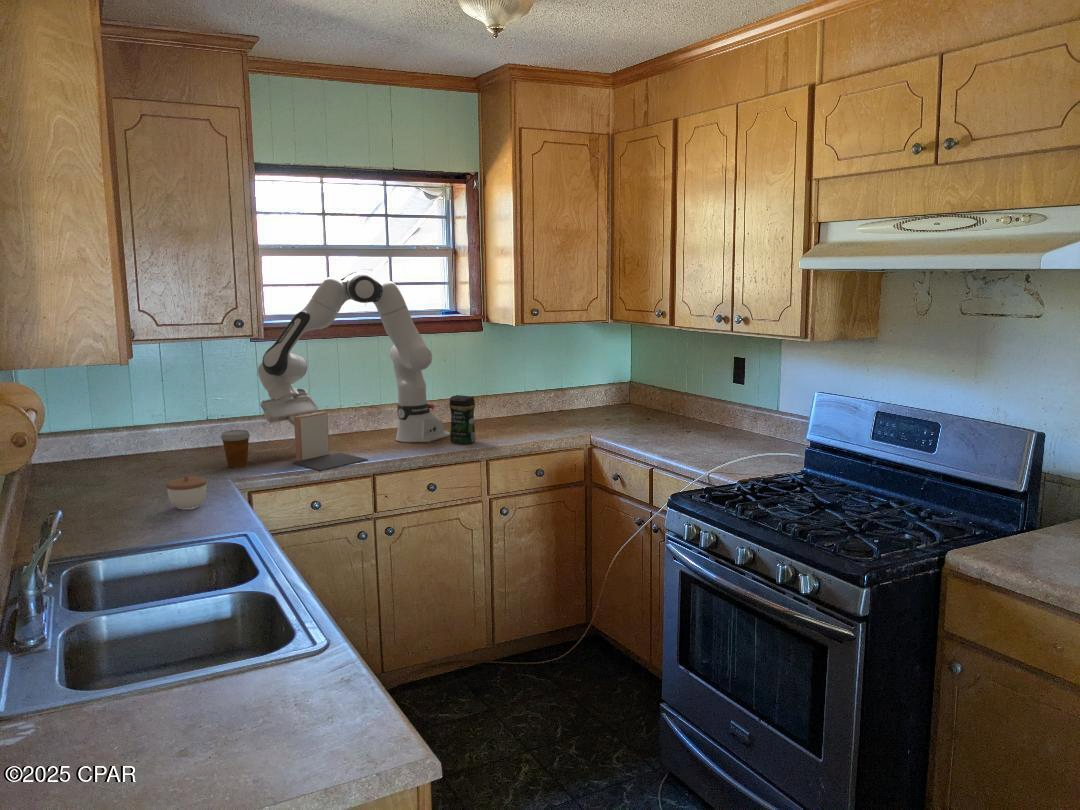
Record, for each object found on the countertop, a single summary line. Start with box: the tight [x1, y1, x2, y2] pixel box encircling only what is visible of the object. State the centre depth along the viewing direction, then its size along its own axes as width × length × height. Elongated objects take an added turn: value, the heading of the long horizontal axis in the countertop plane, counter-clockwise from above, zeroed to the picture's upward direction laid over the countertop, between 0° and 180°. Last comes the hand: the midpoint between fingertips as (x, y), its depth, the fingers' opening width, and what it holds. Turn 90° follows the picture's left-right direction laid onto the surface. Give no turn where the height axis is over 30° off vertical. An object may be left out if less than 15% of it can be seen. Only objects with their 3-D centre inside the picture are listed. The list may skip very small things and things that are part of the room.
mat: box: [291, 451, 369, 472], centre depth 295 cm, size 20×17×1 cm
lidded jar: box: [165, 475, 207, 509], centre depth 241 cm, size 11×11×9 cm
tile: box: [293, 411, 331, 461], centre depth 300 cm, size 12×3×16 cm, turn 139°
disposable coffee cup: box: [220, 429, 251, 468], centre depth 289 cm, size 10×10×12 cm
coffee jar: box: [448, 394, 476, 445], centre depth 323 cm, size 10×8×19 cm
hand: (300, 426), depth 305 cm, fingers closed
